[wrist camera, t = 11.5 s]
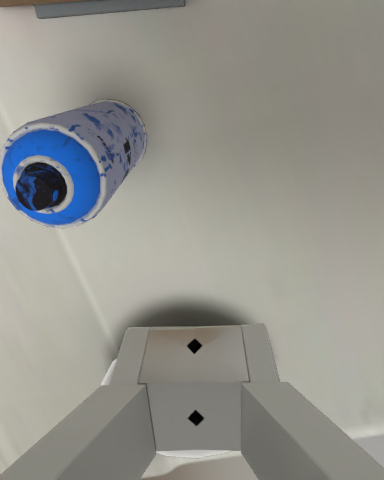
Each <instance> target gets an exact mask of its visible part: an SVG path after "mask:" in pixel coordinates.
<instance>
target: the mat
mask: <svg viewBox="0 0 384 480" xmlns="http://www.w3.org/2000/svg"><path fill="white" fill-rule="evenodd" d="M34 6H35V10H36V15H37V18H39V19H46V18H57V17H68V16H80V15H91V14H102V13H113V12H125V11H136V10H147V9H158V8H170V7H181V6H185V3H184V0H91V1H77V2H63V3H49V4H35V5H34Z"/></svg>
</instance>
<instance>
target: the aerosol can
mask: <svg viewBox="0 0 384 480" xmlns="http://www.w3.org/2000/svg"><path fill="white" fill-rule="evenodd" d="M146 145H147V134H146V130H145V126H144V123H143V122H142V120H141V118H140V116H139V115H138V114H137V113H136V112H135V111H134V110H133V109H132V108H131V107H130V106H128V105H126V104H124V103H122V102H120V101H118V100H110V99H104V100H100V101H95V102H93V103H91V104H90V105H88V106H84V107H81V108H77V109H74V110H70V111H67V112H63V113H60V114H56V115H53V116H49V117H46V118H42V119H39V120H35V121H31V122H28V123H26V124H25V125H23V126H22V127H20V128H19V129H17V130H16V131H14V132H13V134H11V135H10V137H9V138H8V140H7V141H6V143H5V144H4V145H3V147H2V149H1V153H0V183H1V185H2V187H3V190H4V192H5V194H6V197H7V198H8V199H9V200H10V202H11V203H12V204H13V205H14V207H15V208H16V209H17V210H18V211H19V212H21V213H22V214H23V215H25V216H26V217H27V218H29V219H30V220H31V221H34V222H36V223H39V224H41V225H44V226H46V227H53V228H61V229H63V228H69V227H75V226H79V225H81V224H83V223H85V222H87V221H89V220H90V219H92V218H94V217H95V216H96V215H97V214H98V213H99V212H100V211H101V210H102V208H103V207H104V206H105V205H106V204H107V202H108V201H109V199H110V198H111V197H112V195H113V194H114V193H115V191H116V190H117V189H118V187H119V186H120V184H121V183H122V182H123V180H124V179H125V178H126V176H127V175H128V173H129V172H130V171H131V169H132V168H133V167H135V165H136V164H137V163H138V162H139V161H140V160H141V159H142V157H143V155H144V152H145V150H146Z"/></svg>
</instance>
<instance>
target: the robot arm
mask: <svg viewBox="0 0 384 480" xmlns="http://www.w3.org/2000/svg"><path fill="white" fill-rule="evenodd" d="M198 449H199V450H230V451H241V453H242V455H243V456H244V458H245V459H246V461H247V463H248V464H249V465H250V467H251V469H252V470H253V472H254V473H255V475H256V476H257V478H258V479H259V480H384V467H382V465H380V464H379V463H378V462H377V461H376V460H375V459H374V458H373V457H371V456H370V455H369V454H368V453H367V452H366V451H365V450H363V449H362V448H361V447H360V446H359V445H358V444H357V443H356V442H355V441H353V440H352V439H351V438H350V437H349V436H348V435H347V434H346V433H344V432H343V431H342V430H341V429H340V428H339V427H338V426H337V425H336V424H334V423H333V422H332V421H331V420H330V419H329V418H328V417H327V416H325V415H324V414H323V413H322V412H321V411H320V410H319V409H318V408H316V407H315V406H314V405H313V404H312V403H311V402H310V401H309V400H307V399H306V398H305V397H304V396H303V395H302V394H301V393H300V392H299V391H297V390H296V389H295V388H294V387H293V386H292V385H291V384H290V383H288V382H280V379H279V376H278V372H277V368H276V364H275V360H274V356H273V352H272V348H271V344H270V340H269V336H268V333H267V329H266V326H265V325H264V324H243V325H241V326H240V325H233V326H201V327H196V326H191V327H128V329H127V330H126V331H125V334H124V337H123V340H122V344H121V347H120V350H119V353H118V357H117V360H116V363H115V366H114V370H113V373H112V376H111V380H110V383H109V385H101V386H100V387H99V388H98V389H97V390H96V391H95V392H93V393H92V394H91V395H90V396H89V397H88V398H87V399H85V400H84V401H83V402H82V403H81V404H80V405H79V406H78V407H76V408H75V409H74V410H73V411H72V412H71V413H70V414H69V415H67V416H66V417H65V418H64V419H63V420H62V421H61V422H59V423H58V424H57V425H56V426H55V427H54V428H53V429H52V430H50V431H49V432H48V433H47V434H46V435H45V436H44V437H43V438H41V439H40V440H39V441H38V442H37V443H36V444H35V445H33V446H32V447H31V448H30V449H29V450H28V451H27V452H26V453H24V454H23V455H22V456H21V457H20V458H19V459H18V460H16V461H15V462H14V463H13V464H12V465H11V466H10V467H9V468H7V469H6V470H5V471H4V472H3V473H2V474H1V475H0V480H139V479H140V478H141V476H142V475H143V473H144V472H145V470H146V469H147V467H148V466H149V464H150V463H151V461H152V460H153V458H154V457H155V455H156V451H181V450H198Z"/></svg>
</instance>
